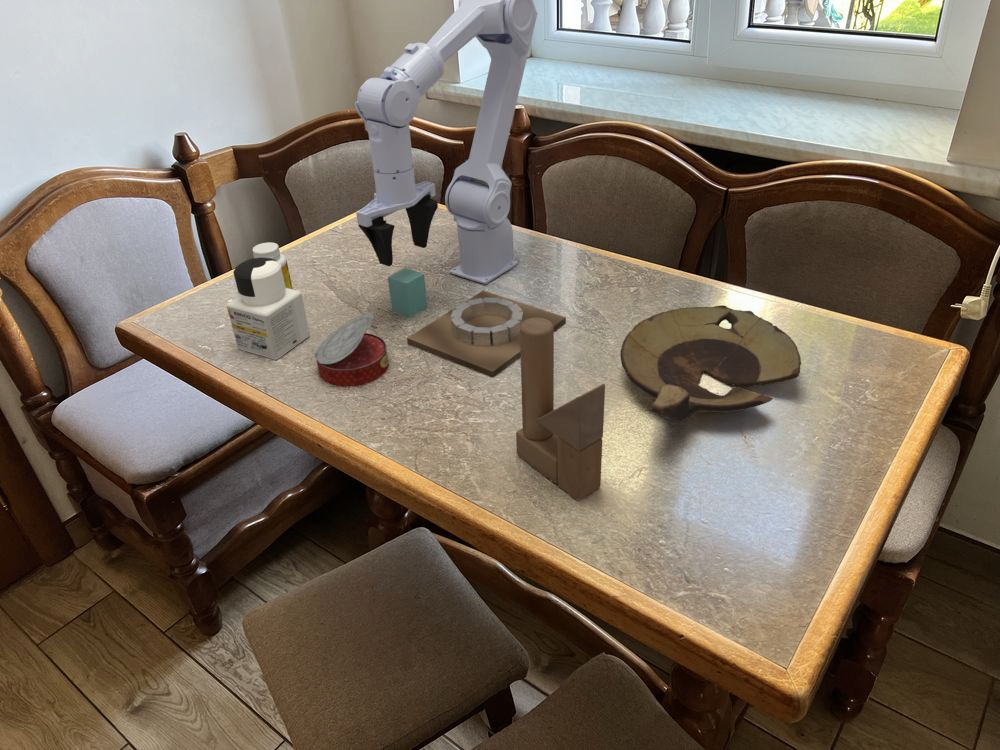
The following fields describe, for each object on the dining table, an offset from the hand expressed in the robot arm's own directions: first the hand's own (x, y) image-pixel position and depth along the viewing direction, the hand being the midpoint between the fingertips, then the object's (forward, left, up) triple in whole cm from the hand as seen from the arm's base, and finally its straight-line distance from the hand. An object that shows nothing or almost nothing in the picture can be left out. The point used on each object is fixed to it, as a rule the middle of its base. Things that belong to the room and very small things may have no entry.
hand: (403, 254), depth 118 cm
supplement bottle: (+11, -19, -10) cm, 24 cm away
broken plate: (-5, +46, -10) cm, 47 cm away
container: (+19, -10, -10) cm, 24 cm away
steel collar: (-1, +15, -9) cm, 18 cm away
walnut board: (-1, +15, -9) cm, 18 cm away
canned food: (+17, +5, -10) cm, 20 cm away
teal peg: (0, 0, -10) cm, 10 cm away
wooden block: (+19, +41, -10) cm, 46 cm away
